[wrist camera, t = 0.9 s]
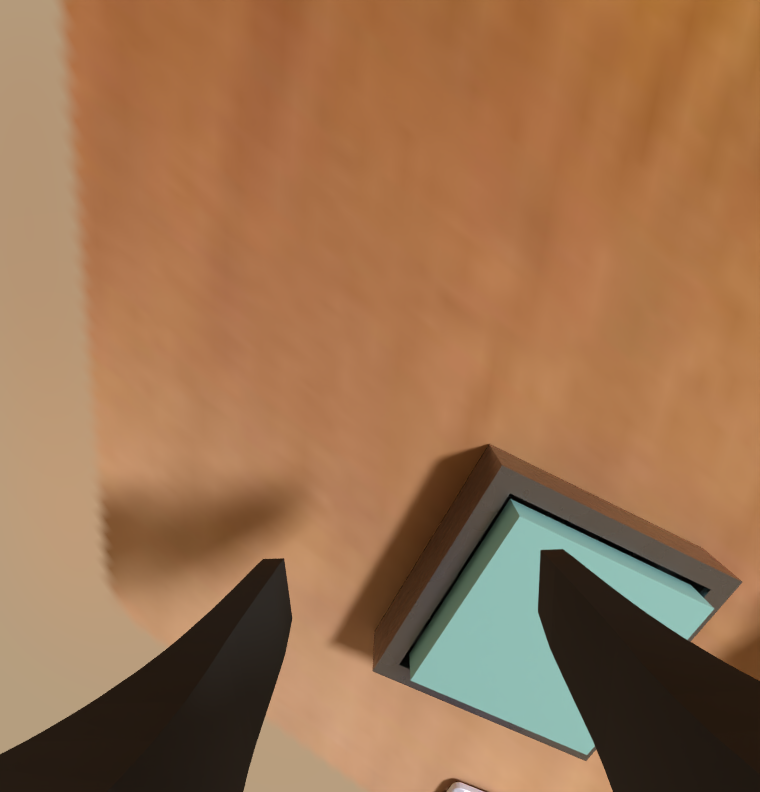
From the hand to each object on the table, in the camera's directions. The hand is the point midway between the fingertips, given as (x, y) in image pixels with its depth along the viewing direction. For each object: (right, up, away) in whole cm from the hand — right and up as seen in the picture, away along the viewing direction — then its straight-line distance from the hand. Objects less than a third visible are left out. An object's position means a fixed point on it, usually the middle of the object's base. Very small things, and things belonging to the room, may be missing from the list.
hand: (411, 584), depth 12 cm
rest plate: (+7, -6, +9) cm, 13 cm away
